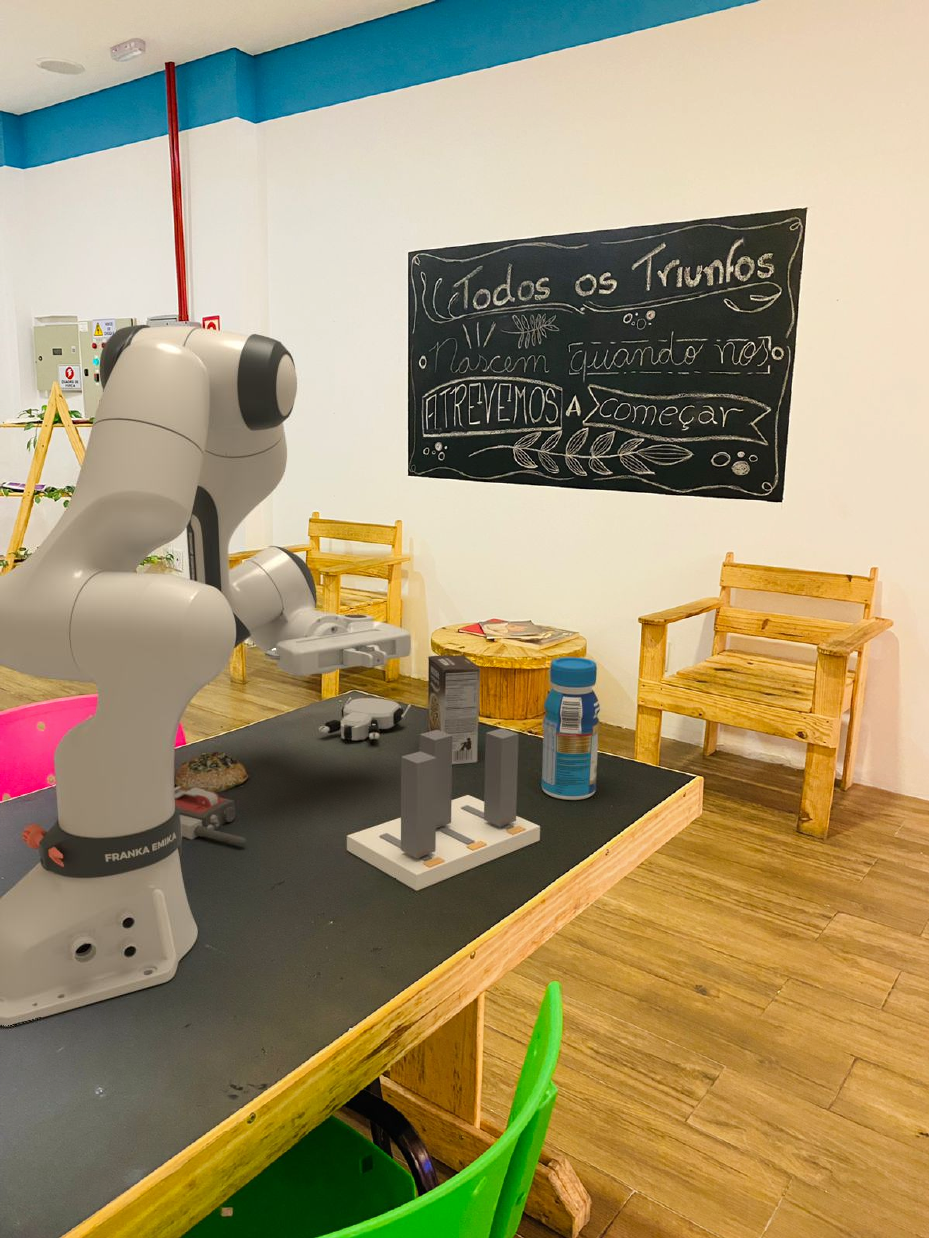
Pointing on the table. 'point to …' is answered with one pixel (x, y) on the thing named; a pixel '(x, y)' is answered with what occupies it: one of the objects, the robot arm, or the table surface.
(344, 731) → the robot toy
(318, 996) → the table surface
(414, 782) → the tall grey switch
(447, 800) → the grey rectangular pillar
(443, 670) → the coffee box
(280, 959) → the table surface
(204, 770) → the bread roll
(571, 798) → the beverage bottle
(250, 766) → the table surface
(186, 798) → the walkie-talkie
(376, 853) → the switch bank
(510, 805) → the right switch
